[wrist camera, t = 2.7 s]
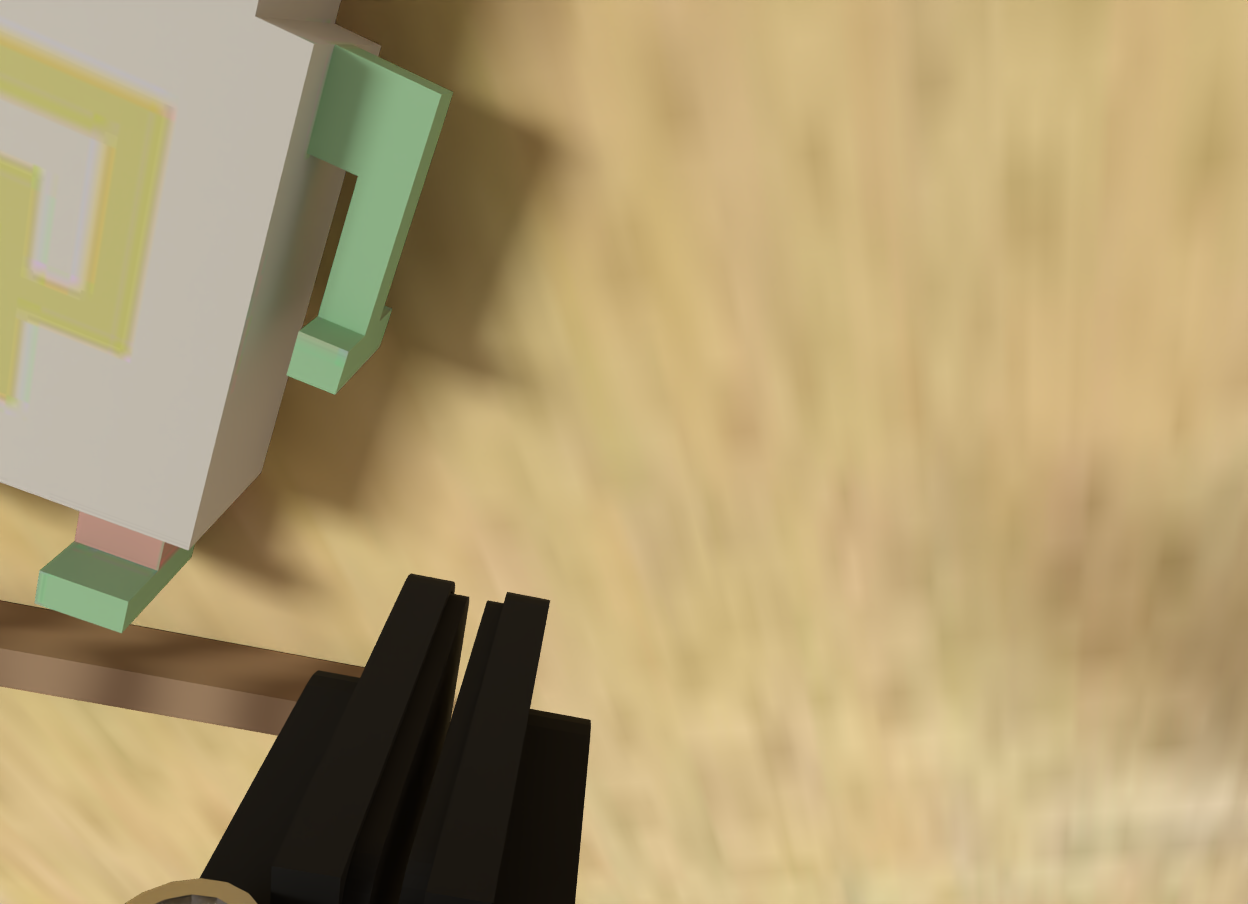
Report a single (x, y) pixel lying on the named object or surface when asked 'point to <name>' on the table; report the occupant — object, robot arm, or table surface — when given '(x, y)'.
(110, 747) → the table surface
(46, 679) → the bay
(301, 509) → the table surface
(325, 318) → the decorative block
